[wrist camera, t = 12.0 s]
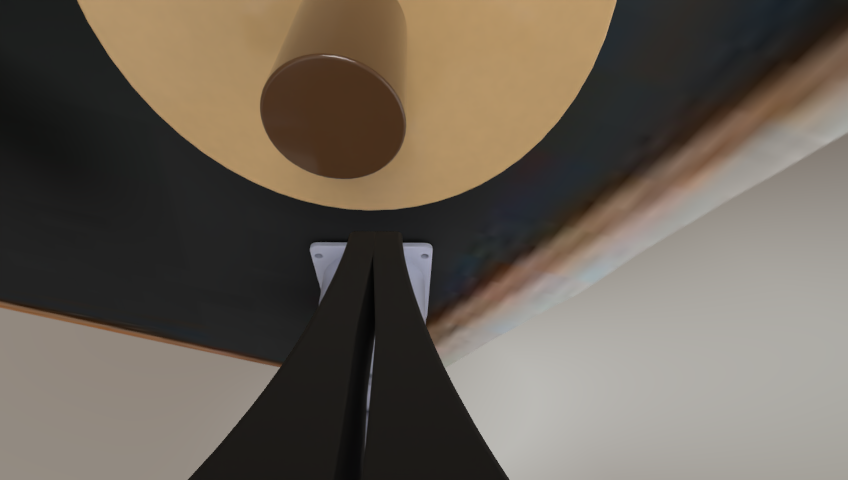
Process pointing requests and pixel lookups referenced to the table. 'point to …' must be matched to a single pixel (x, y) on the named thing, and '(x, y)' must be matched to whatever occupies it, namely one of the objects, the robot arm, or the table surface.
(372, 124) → the lid
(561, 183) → the table surface
